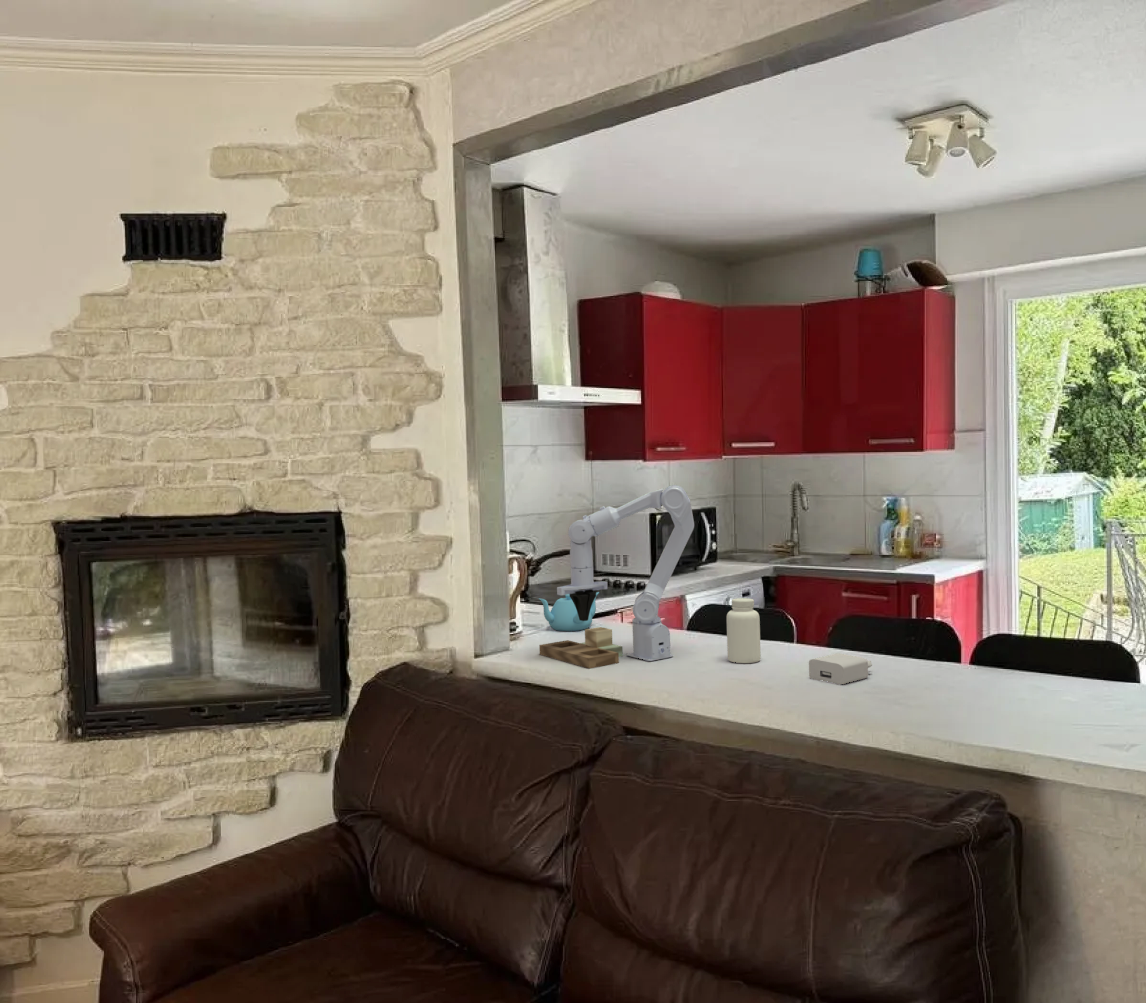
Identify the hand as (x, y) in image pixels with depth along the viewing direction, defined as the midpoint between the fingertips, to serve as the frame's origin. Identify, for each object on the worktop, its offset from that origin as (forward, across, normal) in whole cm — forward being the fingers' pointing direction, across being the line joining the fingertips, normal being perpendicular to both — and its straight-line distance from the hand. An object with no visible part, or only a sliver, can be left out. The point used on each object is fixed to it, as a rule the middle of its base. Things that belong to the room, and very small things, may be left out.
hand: (583, 620), depth 241 cm
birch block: (+7, -4, 0) cm, 8 cm away
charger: (+10, -30, +58) cm, 66 cm away
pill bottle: (+10, -26, +31) cm, 41 cm away
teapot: (+10, -20, -34) cm, 41 cm away
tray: (+9, 0, +1) cm, 9 cm away
